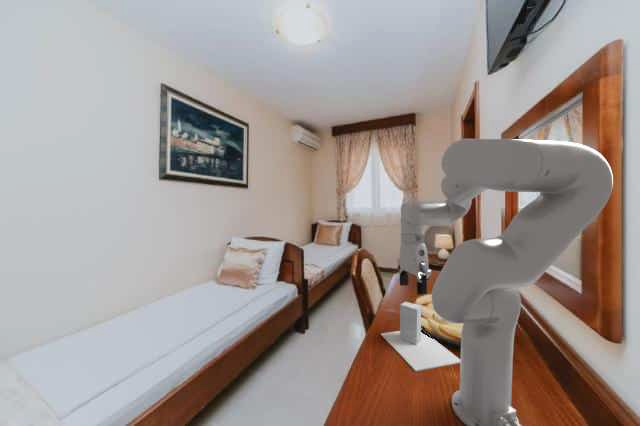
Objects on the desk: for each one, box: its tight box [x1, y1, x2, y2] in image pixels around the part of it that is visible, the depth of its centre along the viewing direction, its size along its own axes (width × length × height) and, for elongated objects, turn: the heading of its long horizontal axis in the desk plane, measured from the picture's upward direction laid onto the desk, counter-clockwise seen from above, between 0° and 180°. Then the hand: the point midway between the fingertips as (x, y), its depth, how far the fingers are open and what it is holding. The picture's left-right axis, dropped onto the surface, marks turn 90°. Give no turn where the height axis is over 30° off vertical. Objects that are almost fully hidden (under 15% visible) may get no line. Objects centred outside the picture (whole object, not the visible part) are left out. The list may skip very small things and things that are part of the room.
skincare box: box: [399, 301, 423, 345], centre depth 84 cm, size 6×4×12 cm
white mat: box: [380, 330, 461, 372], centre depth 81 cm, size 20×16×1 cm
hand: (412, 289), depth 83 cm, fingers open, 9 cm apart
